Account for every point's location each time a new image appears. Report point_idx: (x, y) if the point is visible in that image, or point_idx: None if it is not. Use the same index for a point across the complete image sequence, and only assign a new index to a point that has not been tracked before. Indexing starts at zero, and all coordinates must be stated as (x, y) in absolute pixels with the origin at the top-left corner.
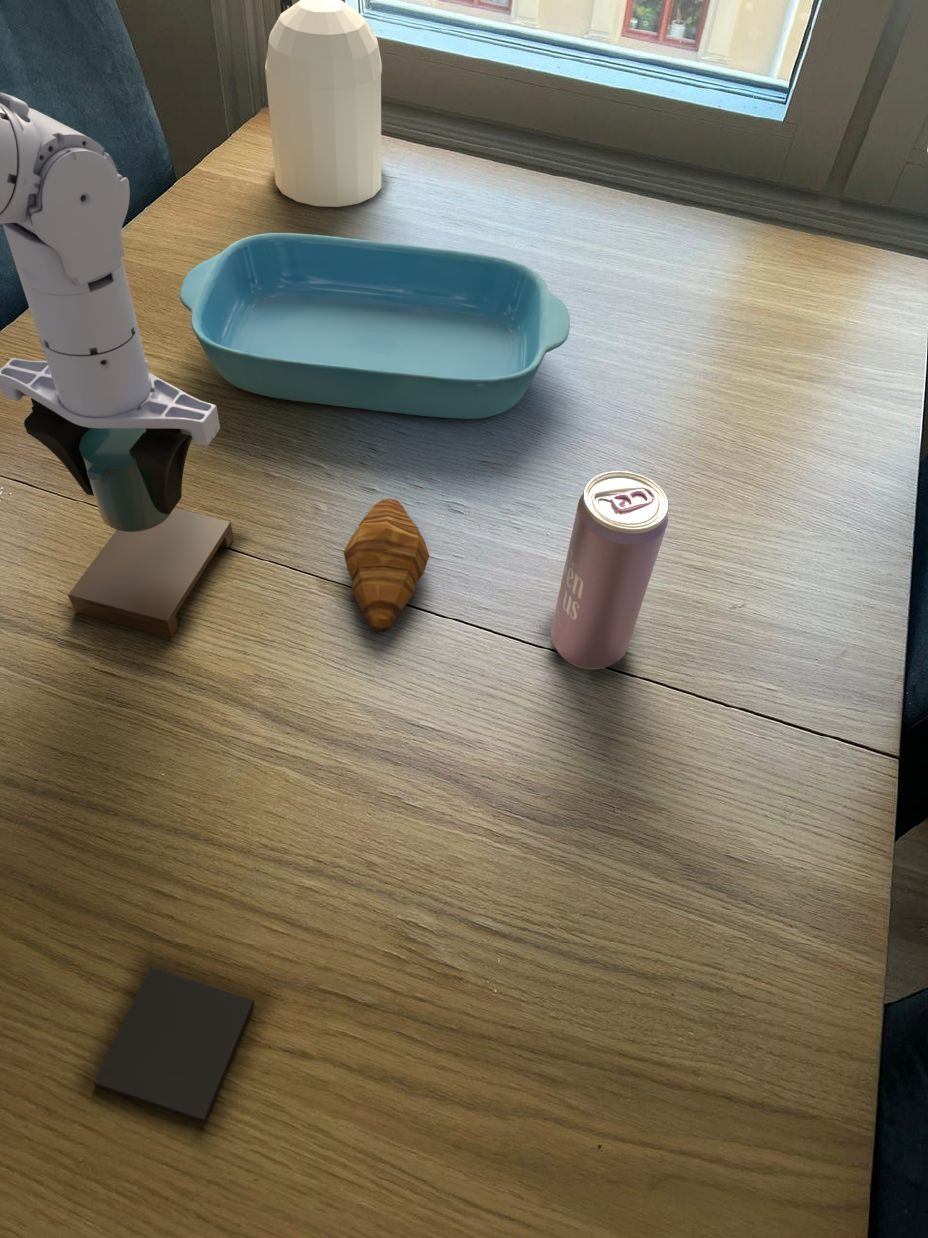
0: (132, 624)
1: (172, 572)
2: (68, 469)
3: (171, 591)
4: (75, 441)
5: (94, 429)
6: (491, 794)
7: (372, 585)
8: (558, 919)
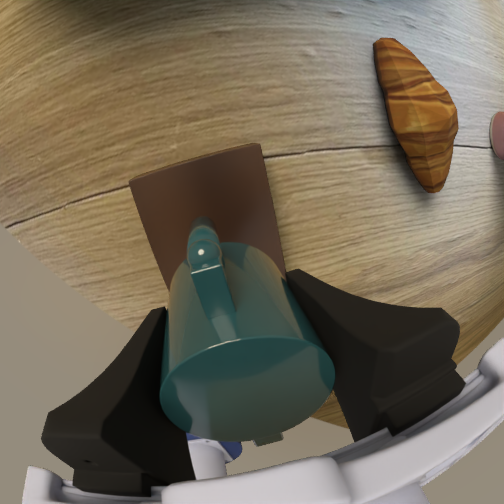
0: None
1: None
2: None
3: None
4: (174, 430)
5: (172, 407)
6: (478, 254)
7: (438, 171)
8: (490, 284)
